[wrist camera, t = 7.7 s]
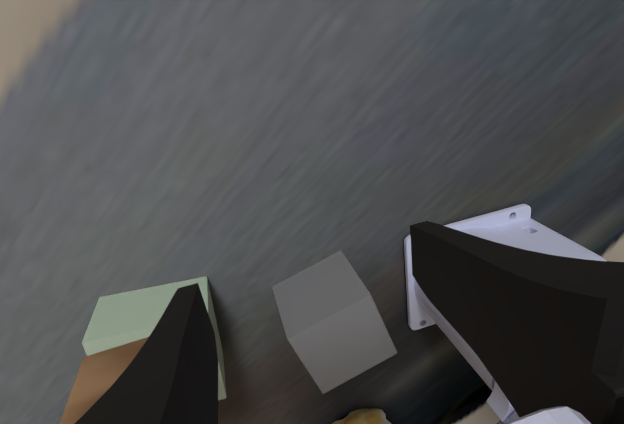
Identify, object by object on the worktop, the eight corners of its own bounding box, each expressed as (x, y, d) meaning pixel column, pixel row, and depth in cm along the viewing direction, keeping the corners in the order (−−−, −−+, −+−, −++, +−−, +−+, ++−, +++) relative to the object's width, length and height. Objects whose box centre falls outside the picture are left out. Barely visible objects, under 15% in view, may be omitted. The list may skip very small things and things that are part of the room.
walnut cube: (185, 325, 20) (181, 405, 16) (213, 391, 22) (217, 479, 18) (83, 357, 19) (49, 451, 15) (123, 422, 22) (103, 521, 17)
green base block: (206, 274, 24) (208, 315, 20) (222, 350, 26) (226, 398, 23) (100, 295, 23) (81, 342, 19) (127, 372, 25) (115, 427, 22)
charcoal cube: (340, 249, 25) (370, 294, 21) (365, 302, 28) (397, 353, 23) (271, 286, 25) (287, 339, 21) (303, 336, 28) (323, 394, 23)
